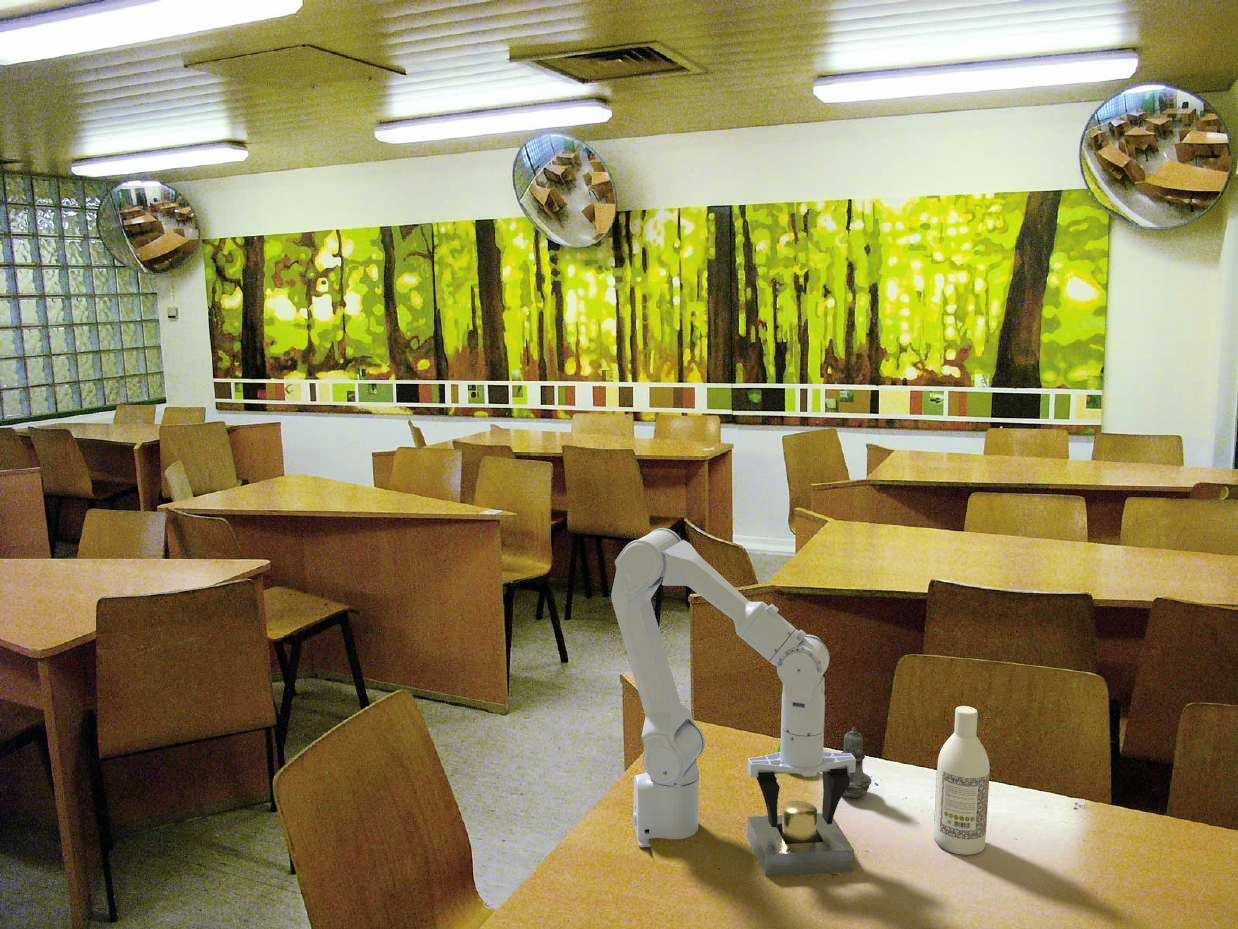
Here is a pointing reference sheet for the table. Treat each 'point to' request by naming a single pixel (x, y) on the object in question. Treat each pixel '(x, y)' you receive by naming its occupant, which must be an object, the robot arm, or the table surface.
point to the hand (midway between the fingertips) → (800, 822)
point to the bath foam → (962, 788)
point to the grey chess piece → (857, 778)
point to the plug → (799, 822)
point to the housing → (799, 849)
